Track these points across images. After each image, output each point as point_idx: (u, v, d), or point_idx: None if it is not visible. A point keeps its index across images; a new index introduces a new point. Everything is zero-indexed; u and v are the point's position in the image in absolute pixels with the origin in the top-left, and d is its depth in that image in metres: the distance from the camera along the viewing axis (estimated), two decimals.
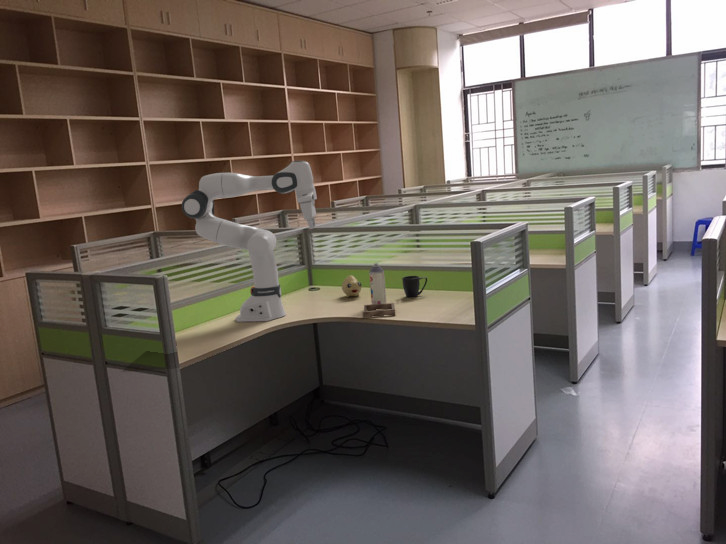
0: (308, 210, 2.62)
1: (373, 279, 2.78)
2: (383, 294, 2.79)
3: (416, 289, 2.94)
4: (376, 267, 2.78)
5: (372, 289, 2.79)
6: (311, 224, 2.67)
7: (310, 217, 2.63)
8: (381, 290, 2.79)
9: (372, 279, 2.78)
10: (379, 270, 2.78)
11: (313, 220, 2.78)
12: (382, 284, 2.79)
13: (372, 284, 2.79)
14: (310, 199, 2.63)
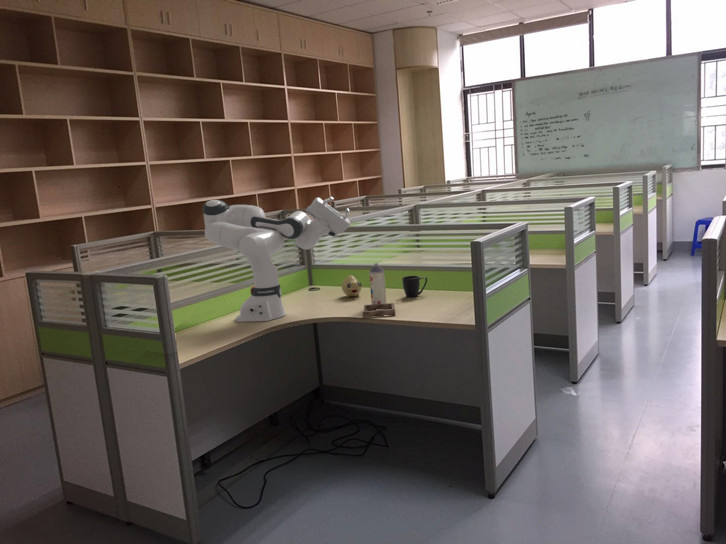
0: None
1: (373, 279, 2.78)
2: (383, 294, 2.79)
3: (416, 289, 2.94)
4: (376, 267, 2.78)
5: (372, 289, 2.79)
6: None
7: (349, 224, 2.85)
8: (381, 290, 2.79)
9: (372, 279, 2.78)
10: (379, 270, 2.78)
11: None
12: (382, 284, 2.79)
13: (372, 284, 2.79)
14: None
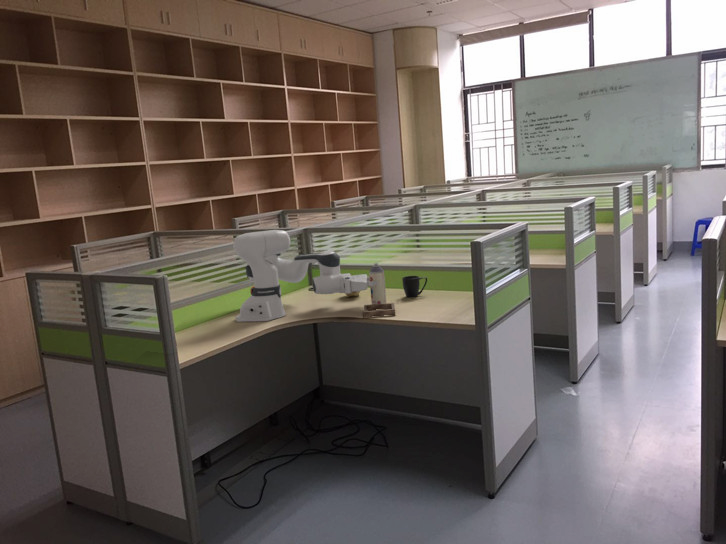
0: (358, 285, 2.72)
1: (373, 279, 2.78)
2: (383, 294, 2.79)
3: (416, 289, 2.94)
4: (376, 267, 2.78)
5: (372, 289, 2.79)
6: (373, 282, 2.76)
7: (365, 283, 2.72)
8: (381, 290, 2.79)
9: (372, 279, 2.78)
10: (379, 270, 2.78)
11: None
12: (382, 284, 2.79)
13: None
14: (348, 281, 2.73)
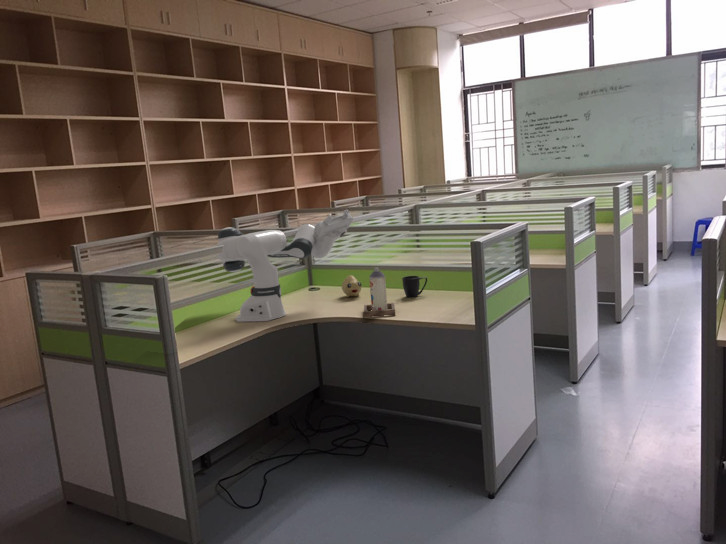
0: None
1: (373, 284, 2.65)
2: (384, 300, 2.67)
3: (416, 289, 2.94)
4: (377, 272, 2.65)
5: (372, 295, 2.67)
6: None
7: None
8: (382, 295, 2.66)
9: (372, 284, 2.65)
10: (380, 275, 2.65)
11: None
12: (383, 290, 2.66)
13: (372, 290, 2.66)
14: None
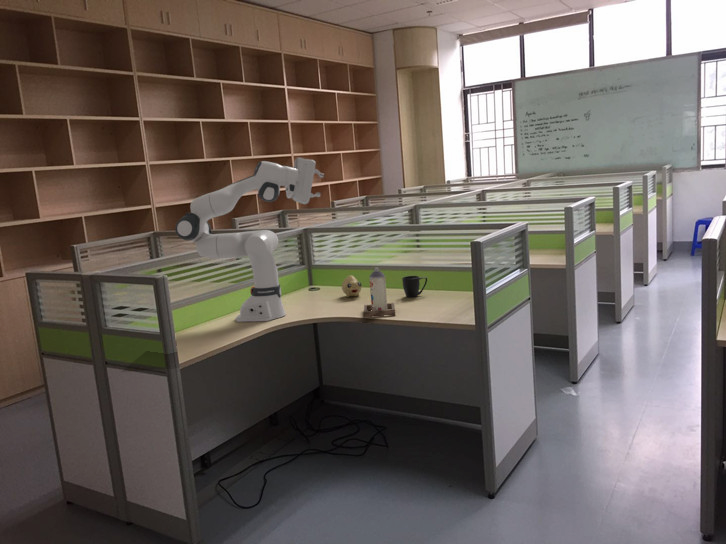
0: (300, 201, 2.69)
1: (373, 284, 2.65)
2: (384, 300, 2.67)
3: (416, 289, 2.94)
4: (377, 272, 2.65)
5: (372, 295, 2.67)
6: (315, 195, 2.71)
7: (307, 202, 2.69)
8: (382, 295, 2.66)
9: (372, 284, 2.65)
10: (380, 275, 2.65)
11: (317, 172, 2.74)
12: (383, 290, 2.66)
13: (372, 290, 2.66)
14: (292, 194, 2.66)
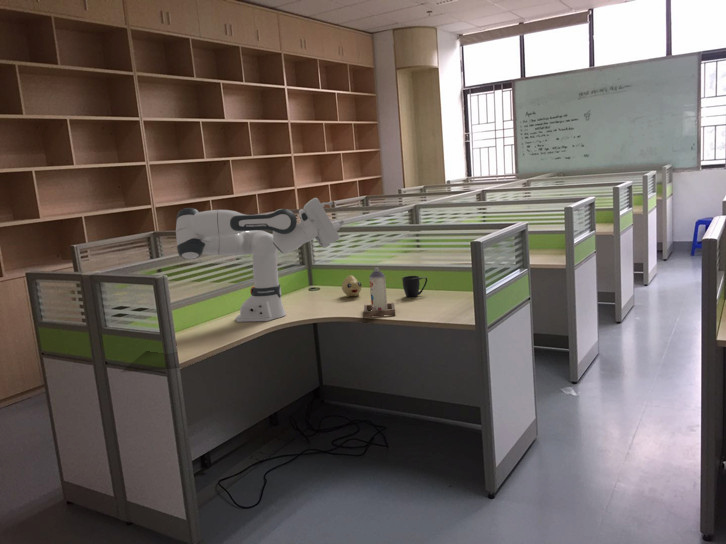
0: (309, 201, 2.57)
1: (373, 284, 2.65)
2: (384, 300, 2.67)
3: (416, 289, 2.94)
4: (377, 272, 2.65)
5: (372, 295, 2.67)
6: None
7: None
8: (382, 295, 2.66)
9: (372, 284, 2.65)
10: (380, 275, 2.65)
11: (338, 226, 2.61)
12: (383, 290, 2.66)
13: (372, 290, 2.66)
14: None
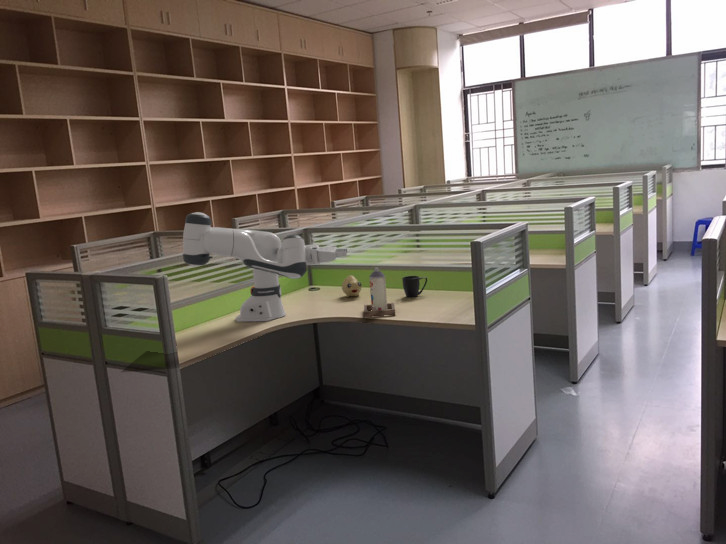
0: (326, 255, 2.56)
1: (373, 284, 2.65)
2: (384, 300, 2.67)
3: (416, 289, 2.94)
4: (377, 272, 2.65)
5: (372, 295, 2.67)
6: (341, 253, 2.60)
7: (333, 253, 2.56)
8: (382, 295, 2.66)
9: (372, 284, 2.65)
10: (380, 275, 2.65)
11: (341, 250, 2.71)
12: (383, 290, 2.66)
13: (372, 290, 2.66)
14: (315, 251, 2.57)
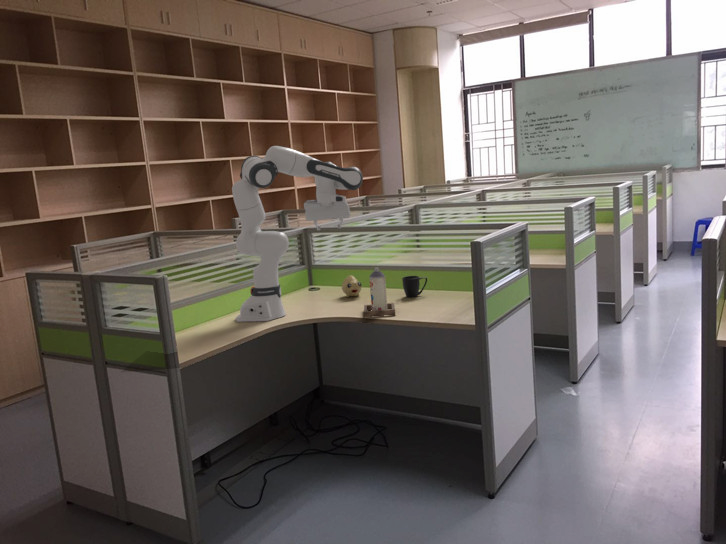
0: (349, 209, 2.77)
1: (373, 284, 2.65)
2: (384, 300, 2.67)
3: (416, 289, 2.94)
4: (377, 272, 2.65)
5: (372, 295, 2.67)
6: (341, 223, 2.78)
7: None
8: (382, 295, 2.66)
9: (372, 284, 2.65)
10: (380, 275, 2.65)
11: None
12: (383, 290, 2.66)
13: (372, 290, 2.66)
14: None
